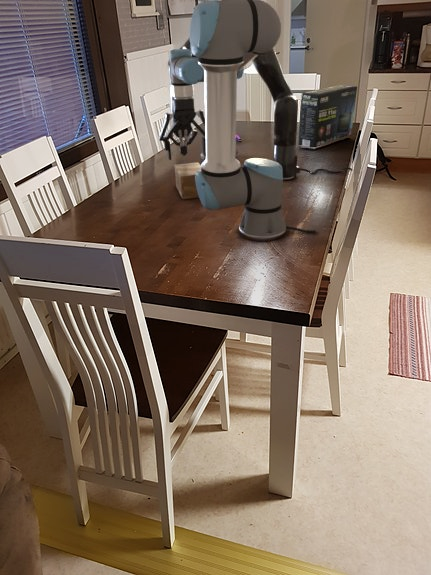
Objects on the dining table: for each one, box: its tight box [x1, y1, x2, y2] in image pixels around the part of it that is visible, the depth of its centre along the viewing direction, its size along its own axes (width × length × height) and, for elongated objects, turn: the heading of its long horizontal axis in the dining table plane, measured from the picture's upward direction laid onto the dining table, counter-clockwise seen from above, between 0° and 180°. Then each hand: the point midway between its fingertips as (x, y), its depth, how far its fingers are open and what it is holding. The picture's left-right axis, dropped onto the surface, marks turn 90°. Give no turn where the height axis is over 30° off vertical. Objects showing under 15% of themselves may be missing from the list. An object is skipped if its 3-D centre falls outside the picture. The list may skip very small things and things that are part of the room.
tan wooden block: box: [174, 162, 201, 200], centre depth 184 cm, size 16×10×9 cm, turn 13°
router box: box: [297, 84, 358, 151], centre depth 238 cm, size 36×11×27 cm, turn 134°
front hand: (187, 157), depth 175 cm, fingers open, 13 cm apart
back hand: (183, 155), depth 192 cm, fingers closed
